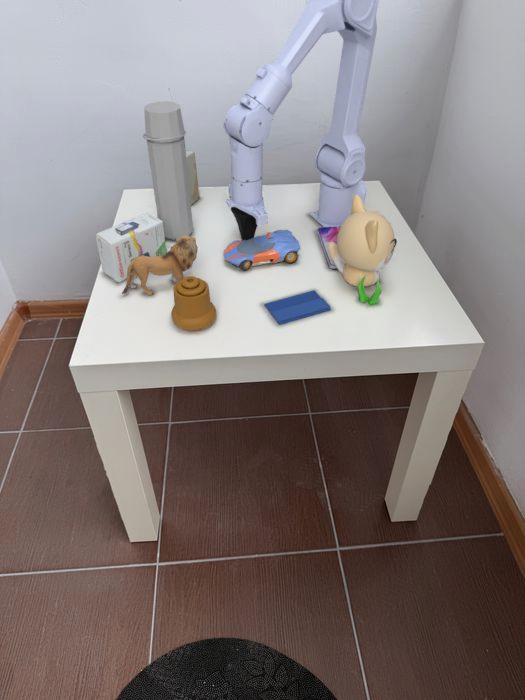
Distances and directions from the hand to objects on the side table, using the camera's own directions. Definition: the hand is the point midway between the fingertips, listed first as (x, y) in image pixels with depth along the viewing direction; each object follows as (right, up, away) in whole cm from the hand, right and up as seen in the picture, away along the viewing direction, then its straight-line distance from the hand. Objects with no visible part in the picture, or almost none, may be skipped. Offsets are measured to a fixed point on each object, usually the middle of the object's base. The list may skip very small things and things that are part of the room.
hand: (247, 241), depth 102 cm
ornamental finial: (-9, -17, -16) cm, 25 cm away
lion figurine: (-15, -10, -9) cm, 20 cm away
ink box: (-17, 0, -4) cm, 17 cm away
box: (-15, +13, +16) cm, 26 cm away
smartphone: (+19, -1, +1) cm, 19 cm away
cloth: (+9, -15, -14) cm, 22 cm away
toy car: (+3, -4, -2) cm, 5 cm away
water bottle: (-15, +3, +6) cm, 17 cm away
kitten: (+21, -10, -8) cm, 24 cm away
